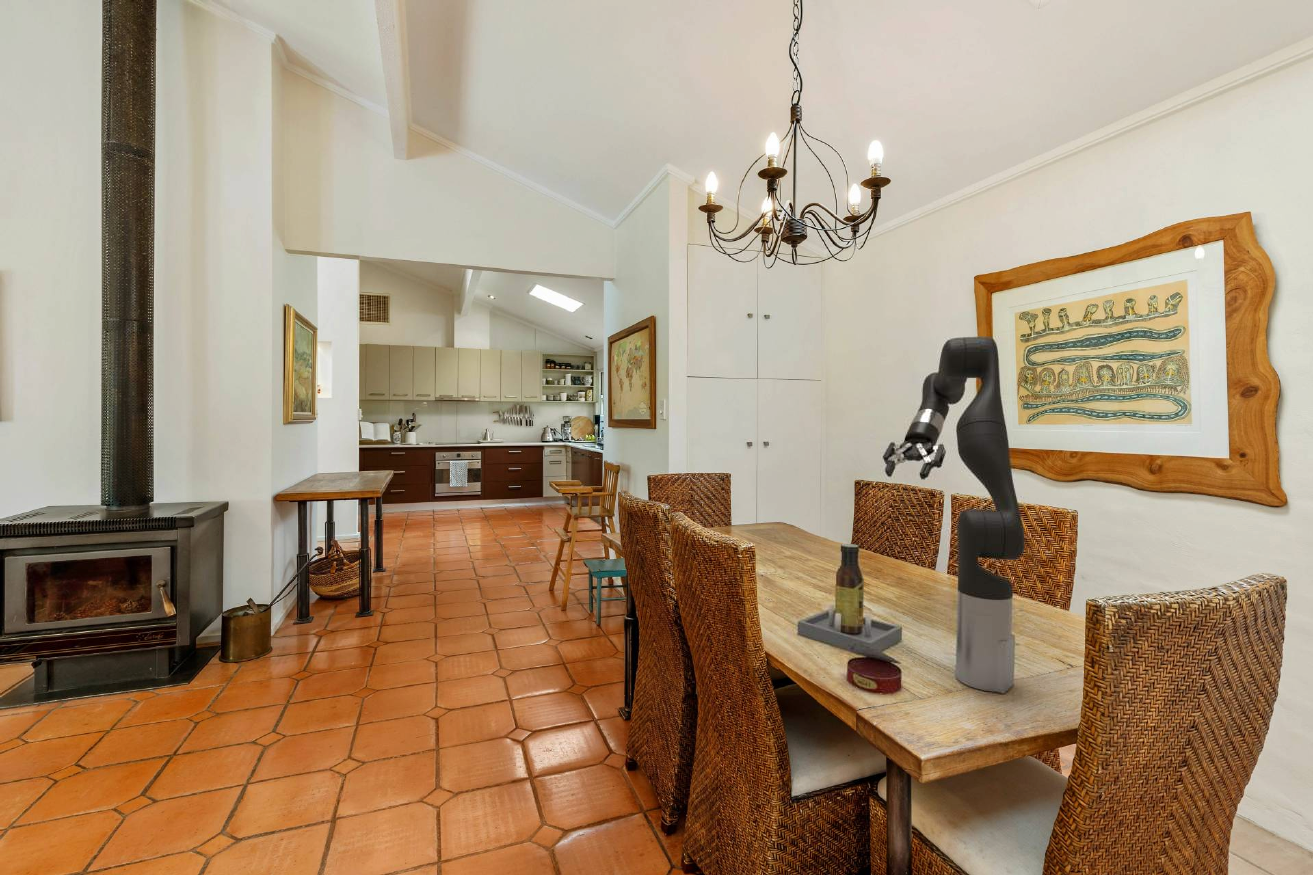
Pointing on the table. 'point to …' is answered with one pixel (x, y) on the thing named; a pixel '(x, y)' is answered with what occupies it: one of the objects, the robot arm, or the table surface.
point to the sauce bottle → (849, 591)
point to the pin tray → (829, 631)
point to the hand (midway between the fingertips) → (904, 475)
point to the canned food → (873, 670)
